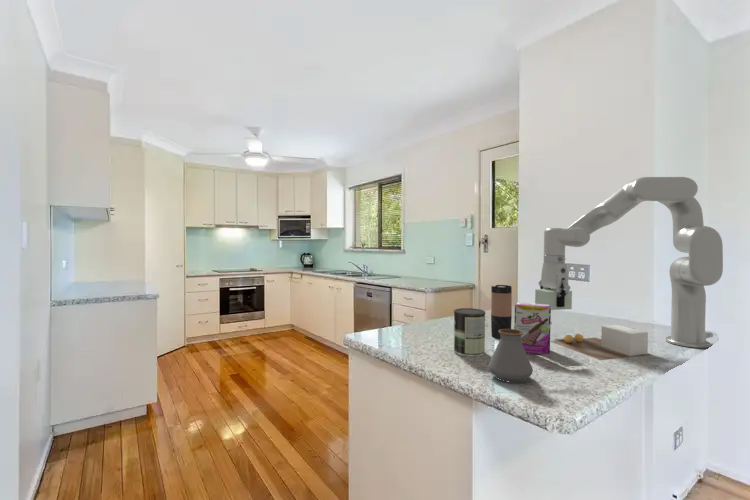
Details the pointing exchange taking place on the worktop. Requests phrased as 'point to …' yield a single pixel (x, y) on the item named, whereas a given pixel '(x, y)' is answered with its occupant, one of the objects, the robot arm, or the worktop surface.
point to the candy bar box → (527, 319)
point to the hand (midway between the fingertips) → (553, 304)
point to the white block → (624, 340)
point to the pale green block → (552, 298)
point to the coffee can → (469, 332)
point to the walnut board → (594, 349)
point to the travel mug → (500, 309)
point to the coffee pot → (512, 355)
